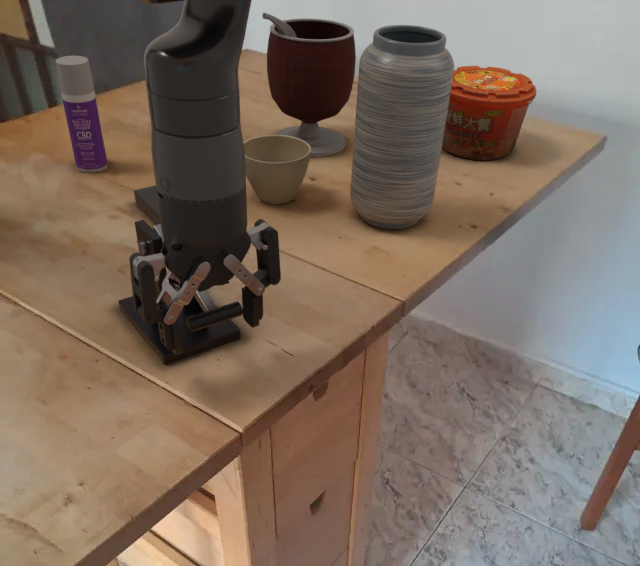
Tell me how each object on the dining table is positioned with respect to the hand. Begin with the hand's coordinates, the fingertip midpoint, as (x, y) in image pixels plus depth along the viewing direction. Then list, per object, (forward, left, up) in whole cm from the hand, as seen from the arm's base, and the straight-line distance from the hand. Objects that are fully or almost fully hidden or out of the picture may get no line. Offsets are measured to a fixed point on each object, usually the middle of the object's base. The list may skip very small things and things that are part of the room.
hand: (213, 336), depth 68 cm
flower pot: (+26, +31, -4) cm, 40 cm away
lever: (0, +5, +3) cm, 6 cm away
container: (+7, +54, -4) cm, 54 cm away
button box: (+13, +34, -4) cm, 36 cm away
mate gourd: (+41, +46, -4) cm, 62 cm away
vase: (+37, +18, -4) cm, 41 cm away
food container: (+66, +31, -4) cm, 73 cm away
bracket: (0, +9, -4) cm, 10 cm away
